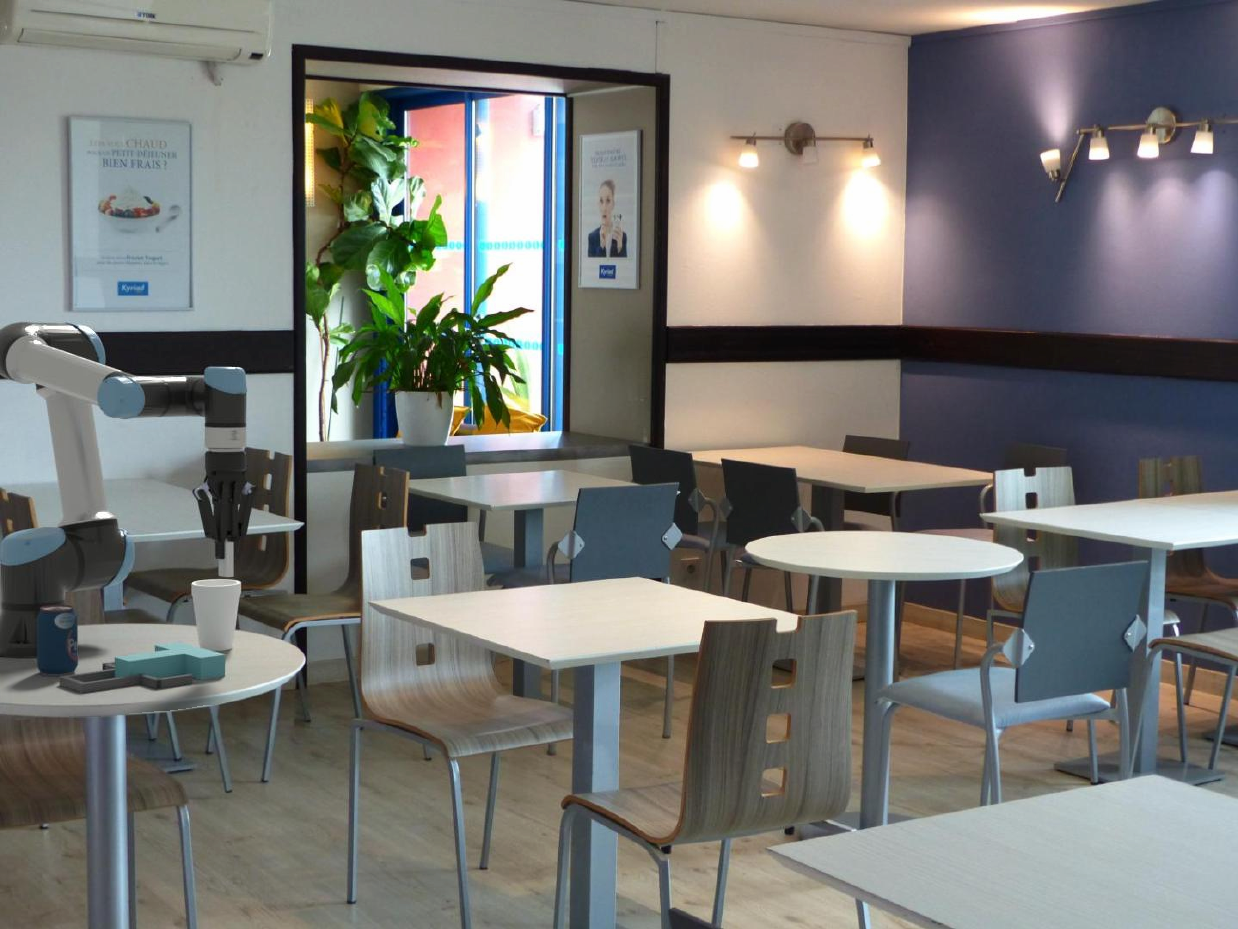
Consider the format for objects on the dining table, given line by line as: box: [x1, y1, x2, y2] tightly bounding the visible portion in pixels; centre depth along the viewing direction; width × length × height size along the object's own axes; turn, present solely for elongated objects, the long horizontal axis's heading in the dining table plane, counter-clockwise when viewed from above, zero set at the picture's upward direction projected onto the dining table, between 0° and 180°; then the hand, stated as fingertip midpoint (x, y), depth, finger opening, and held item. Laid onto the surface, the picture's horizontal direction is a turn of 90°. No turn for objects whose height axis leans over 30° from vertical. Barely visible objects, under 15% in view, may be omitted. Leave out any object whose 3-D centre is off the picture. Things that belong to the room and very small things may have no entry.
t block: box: [114, 641, 226, 681], centre depth 279 cm, size 16×16×4 cm
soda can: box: [36, 604, 79, 677], centre depth 279 cm, size 7×7×12 cm
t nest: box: [58, 661, 194, 694], centre depth 273 cm, size 18×19×2 cm
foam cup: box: [190, 578, 242, 652], centre depth 305 cm, size 10×9×13 cm
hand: (226, 576), depth 288 cm, fingers closed
